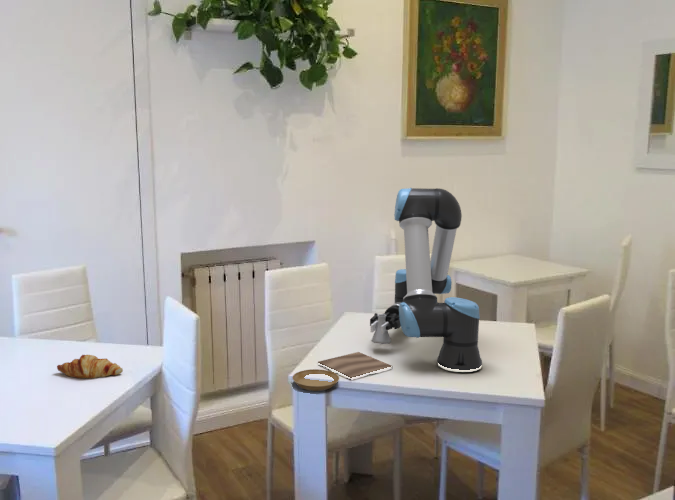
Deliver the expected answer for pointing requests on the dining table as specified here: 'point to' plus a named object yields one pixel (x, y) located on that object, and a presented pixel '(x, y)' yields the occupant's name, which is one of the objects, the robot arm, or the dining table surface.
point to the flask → (377, 335)
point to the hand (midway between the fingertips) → (376, 329)
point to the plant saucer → (314, 384)
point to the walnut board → (354, 364)
